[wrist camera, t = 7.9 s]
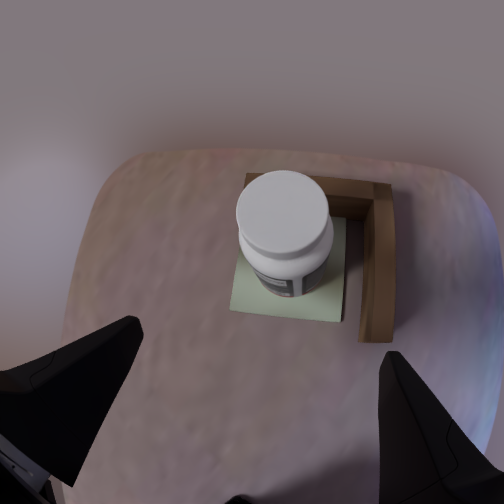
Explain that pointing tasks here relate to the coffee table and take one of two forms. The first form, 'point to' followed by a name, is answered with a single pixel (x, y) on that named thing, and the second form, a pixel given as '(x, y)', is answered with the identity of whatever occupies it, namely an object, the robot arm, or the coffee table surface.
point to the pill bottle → (285, 231)
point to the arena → (338, 264)
